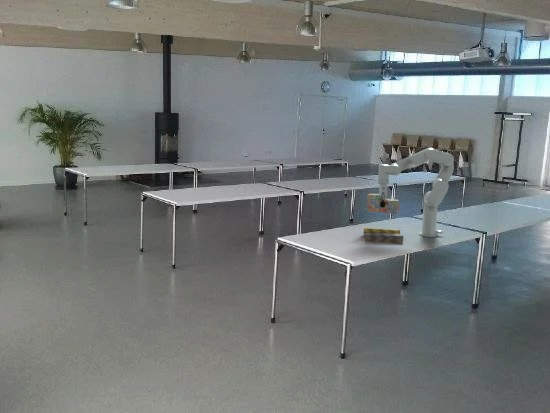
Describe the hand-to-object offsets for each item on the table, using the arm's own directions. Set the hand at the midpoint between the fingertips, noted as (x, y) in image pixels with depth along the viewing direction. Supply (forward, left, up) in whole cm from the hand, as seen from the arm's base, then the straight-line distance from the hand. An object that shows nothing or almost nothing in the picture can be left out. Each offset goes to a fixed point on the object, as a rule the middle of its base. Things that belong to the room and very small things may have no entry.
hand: (382, 206), depth 385 cm
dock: (0, +19, -20) cm, 27 cm away
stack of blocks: (0, 0, -4) cm, 4 cm away
